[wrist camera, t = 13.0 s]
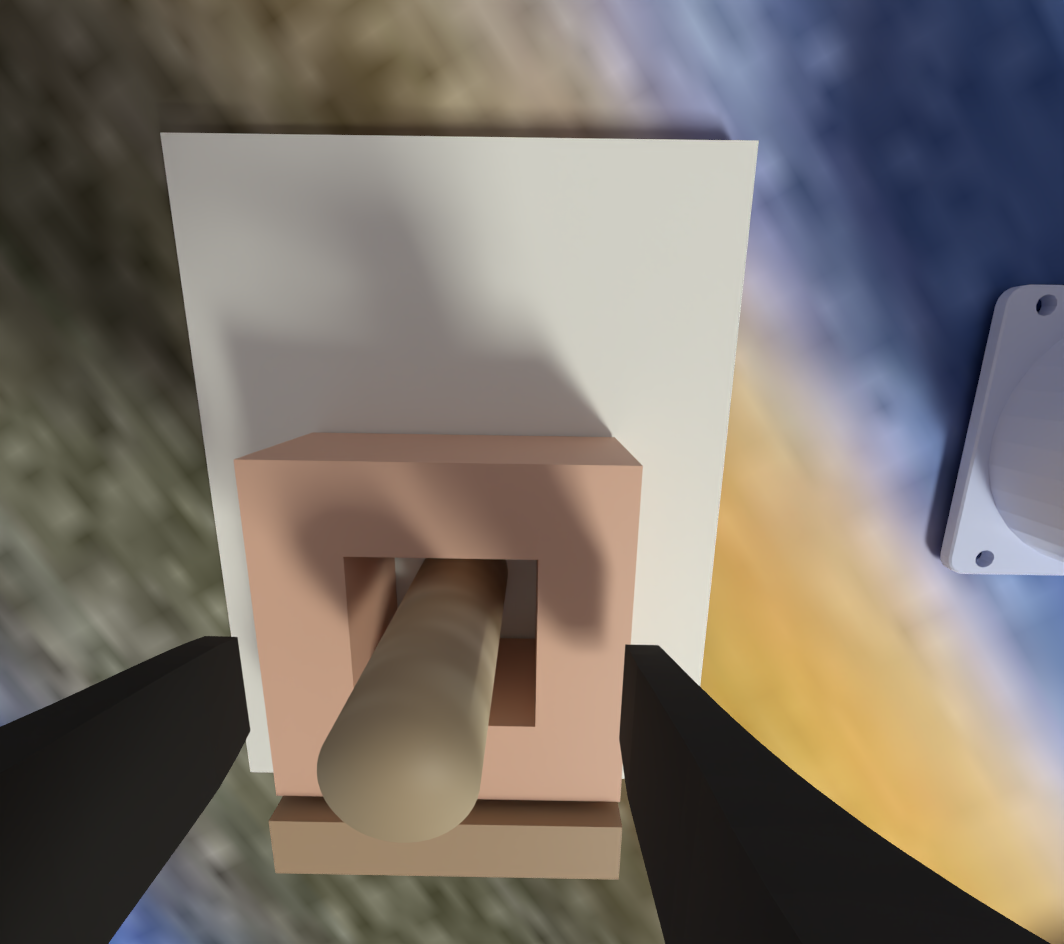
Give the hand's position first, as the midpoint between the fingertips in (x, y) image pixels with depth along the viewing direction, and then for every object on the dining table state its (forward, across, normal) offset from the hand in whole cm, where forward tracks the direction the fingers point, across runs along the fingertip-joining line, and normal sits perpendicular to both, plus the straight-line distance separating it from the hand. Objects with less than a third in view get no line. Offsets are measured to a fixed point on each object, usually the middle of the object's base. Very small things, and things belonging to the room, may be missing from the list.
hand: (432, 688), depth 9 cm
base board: (+6, 0, -2) cm, 6 cm away
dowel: (+5, 0, 0) cm, 5 cm away
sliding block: (+5, 0, 0) cm, 5 cm away
